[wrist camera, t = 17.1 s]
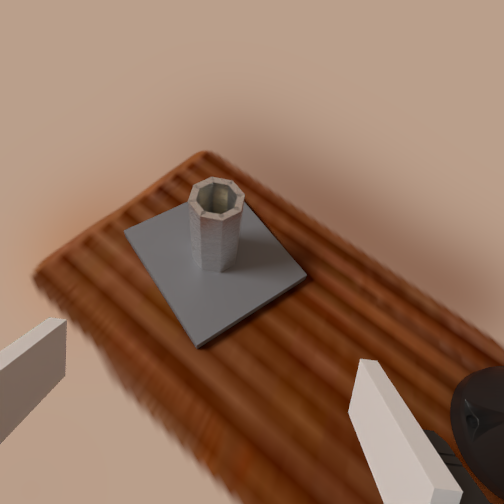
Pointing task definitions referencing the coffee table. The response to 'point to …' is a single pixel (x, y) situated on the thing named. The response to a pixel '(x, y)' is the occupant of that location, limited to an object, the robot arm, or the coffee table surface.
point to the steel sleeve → (215, 223)
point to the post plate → (212, 283)
